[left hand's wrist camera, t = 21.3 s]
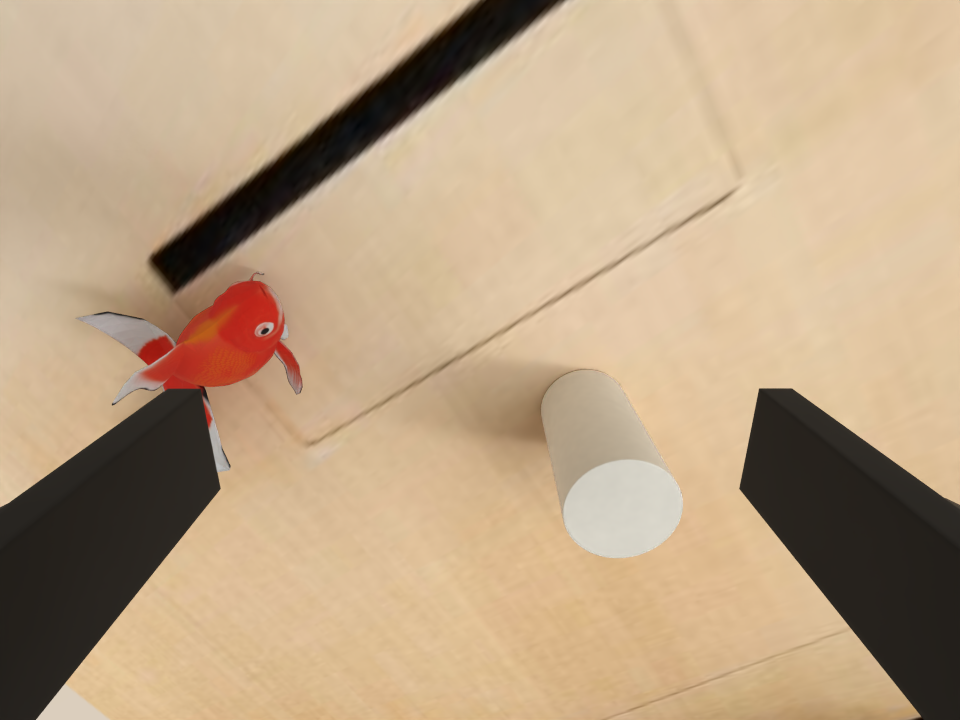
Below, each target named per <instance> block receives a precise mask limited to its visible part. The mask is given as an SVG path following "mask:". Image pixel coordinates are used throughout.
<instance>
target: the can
mask: <svg viewBox="0 0 960 720" xmlns="http://www.w3.org/2000/svg"><path fill="white" fill-rule="evenodd" d="M541 417H542V422H543V427H544V431H545V436H546V441H547V446H548V450H549V455H550V460H551V464H552V469H553V474H554V479H555V483H556V488H557V493H558V497H559V502H560V507H561V512H562V516H563V521H564V525H565V528H566V530H567V532H568V534H569V535H570V536H571V538H572V539H573V540H574V541H575V542H576V543H577V544H578V545H579V546H580V547H582V548H583V549H585V550H587V551H588V552H591V553H593V554H595V555H599V556H603V557H609V558H627V557H633V556H637V555H640V554H643V553H646V552H648V551H650V550H652V549H654V548H656V547H657V546H659V545H660V544H661V543H663V542H664V541H665V540H666V539H667V538H668V537H669V536H670V535H671V534H672V533H673V531H674V530H675V528H676V527H677V525H678V523H679V521H680V518H681V514H682V509H683V499H682V494H681V490H680V488H679V486H678V484H677V482H676V480H675V479H674V477H673V475H672V474H671V472H670V470H669V468H668V467H667V465H666V463H665V461H664V460H663V458H662V456H661V454H660V453H659V451H658V449H657V448H656V446H655V444H654V442H653V441H652V439H651V437H650V435H649V434H648V432H647V430H646V429H645V427H644V425H643V423H642V422H641V420H640V418H639V416H638V415H637V413H636V411H635V409H634V408H633V406H632V404H631V403H630V401H629V399H628V397H627V396H626V394H625V392H624V390H623V389H622V387H621V386H620V384H619V383H618V382H617V381H616V380H615V379H614V378H612V377H611V376H609V375H607V374H605V373H603V372H600V371H596V370H578V371H573V372H570V373H568V374H565V375H563V376H562V377H560V378H559V379H557V380H556V381H555V382H554V383H553V384H552V385H551V386H550V387H549V388H548V390H547V391H546V393H545V395H544V397H543V400H542V404H541Z"/></svg>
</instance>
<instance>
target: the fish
mask: <svg viewBox="0 0 960 720" xmlns="http://www.w3.org/2000/svg"><path fill="white" fill-rule="evenodd" d="M256 274H262V275H263V273H261V272H256V273H254V274H253V275H252V276H251V278H250V279H249V281H238V282H235V283H233V284H232V285H231V286H230V287H229V288H228V289H227V291H226V292H225V293H223V294H222V295H220V296H219V297H218V298H217V299H216V300H215V302H214V305H213V306H211V307H209V308H207V309H205V310H204V311H202V312H201V313H199V314H197V315H196V316H195V317H194V318H193V319H192V320H191V321H190V323H189V324H188V325H187V326H186V328H185V329H184V330H183V332H182V333H181V335H180V337H179V339H178V341H177V343H176V342H175V341H174V340H173V339H172V338H171V337H170V336H169V335H168V334H167V333H165V332H164V331H162V330H161V329H159V328H158V327H157V326H155V325H153V324H151V323H150V322H148V321H146V320H144V319H142V318H137V317H132V316H127V315H122V314H117V313H112V312H103V313H98V314H93V315H89V316H84V317H79V318H75V319H78V320H80V321H83V322H85V323H87V324H89V325H91V326H93V327H95V328H97V329H99V330H101V331H102V332H104V333H106V334H108V335H109V336H111V337H112V338H114V339H116V340H117V341H119V342H120V343H122V344H123V345H124V346H126V347H127V348H129V349H130V350H131V351H132V352H134V353H135V354H136V355H137V356H139V357H140V358H141V359H142V360H143V361H144V362H145V363H146V364H148V365H149V366H147V367H145V368H143V369H141V370H138V371H136V372H135V373H134V374H133V375H132V376H131V377H130V379H129V380H128V381H127V382H126V383H125V384H124V386H123V387H122V389H121V390H120V392H119V394H118V395H117V397H116V398H115V400H114V402H113V403H112V405H115V404H116V403H117V402H119V401H120V400H121V399H122V398H124V397H125V396H126V395H128V394H129V393H131V392H133V391H134V390H137V389H145V390H149V391H154V390H157V389H158V388H159V387H160V386H162V387H163V392H164V391H165V390H167V389H201V392H202V397H203V402H204V408H205V413H206V418H207V423H208V428H209V433H210V438H211V443H212V448H213V453H214V458H215V463H216V468H217V472H221V471H227V470H230V464H229V462H228V460H227V457H226V455H225V453H224V451H223V449H222V445H221V442H220V438H219V434H218V430H217V427H216V424H215V420H214V417H213V413H212V410H211V407H210V403H209V400H208V397H207V393H206V390H205V388H204V386H206V387H215V386H225V385H230V384H233V383H236V382H238V381H241V380H243V379H245V378H248V377H250V376H252V375H254V374H255V373H256V372H257V371H258V370H259V369H260V368H262V367H263V366H264V365H265V364H266V363H267V362H268V361H269V360H270V359H271V357H272V356H273V354H275V355H276V356H277V358H278V359H279V360H280V361H281V362H282V363H283V364H284V366H285V369H286V373H287V378H288V381H289V383H290V385H291V386H292V388H293V389H294V391H295V393H296V394H299V393H300V392H301V390H302V378H301V376H300V369H299V364H298V363H297V361H296V359H295V357H294V356H293V354H292V352H291V351H290V350H289V349H288V348H287V347H286V346H285V345H284V344H283V343H282V342H281V341H280V338H281V339H286V338H288V328H287V325H286V324H284V321H285V319H284V313H283V309H282V306H281V303H280V300H279V298H278V296H277V295H276V293H275V292H274V291H273V290H272V289H271V288H270V287H269V286H267V285H265V284H264V283H262V282H260V281H253V277H254V276H255V275H256Z"/></svg>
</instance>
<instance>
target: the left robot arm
mask: <svg viewBox="0 0 960 720" xmlns="http://www.w3.org/2000/svg"><path fill="white" fill-rule="evenodd" d="M220 489H221V488H220V483H219V478H218V473H217V468H216V463H215V458H214V453H213V448H212V443H211V438H210V433H209V428H208V423H207V418H206V413H205V408H204V402H203V397H202V392H201V389H167V390H165V391H164V392H163V393H161V394H160V395H158V396H157V397H156V398H154V399H153V400H152V401H150V402H149V403H147V404H146V405H145V406H143V407H142V408H140V409H139V410H138V411H136V412H135V413H133V414H132V415H131V416H129V417H128V418H126V419H125V420H124V421H122V422H121V423H120V424H118V425H117V426H115V427H114V428H113V429H111V430H110V431H108V432H107V433H106V434H104V435H103V436H101V437H100V438H99V439H97V440H96V441H94V442H93V443H92V444H90V445H89V446H88V447H86V448H85V449H83V450H82V451H81V452H79V453H78V454H76V455H75V456H74V457H72V458H71V459H69V460H68V461H67V462H65V463H64V464H62V465H61V466H60V467H58V468H57V469H56V470H54V471H53V472H51V473H50V474H49V475H47V476H46V477H44V478H43V479H42V480H40V481H39V482H37V483H36V484H35V485H33V486H32V487H30V488H29V489H28V490H26V491H25V492H24V493H22V494H21V495H19V496H18V497H17V498H15V499H14V500H12V501H11V502H10V503H8V504H6V505H4V506H2V507H0V720H36V719H37V718H38V716H39V715H40V714H41V713H42V711H43V710H44V709H45V708H46V706H47V705H48V704H49V703H50V701H51V700H52V699H53V698H54V696H55V695H56V694H57V693H58V691H59V690H60V689H61V688H62V686H63V685H64V684H65V683H66V681H67V680H68V679H69V678H70V676H71V675H72V674H73V673H74V671H75V670H76V669H77V668H78V666H79V665H80V664H81V663H82V661H83V660H84V659H85V658H86V656H87V655H88V654H89V653H90V651H91V650H92V649H93V648H94V646H95V645H96V644H97V643H98V641H99V640H100V639H101V638H102V636H103V635H104V634H105V633H106V631H107V630H108V629H109V628H110V626H111V625H112V624H113V623H114V621H115V620H116V619H117V618H118V616H119V615H120V614H121V613H122V611H123V610H124V609H125V608H126V606H127V605H128V604H129V603H130V601H131V600H132V599H133V598H134V596H135V595H136V594H137V593H138V591H139V590H140V589H141V588H142V586H143V585H144V584H145V583H146V581H147V580H148V579H149V578H150V576H151V575H152V574H153V573H154V571H155V570H156V569H157V568H158V566H159V565H160V564H161V563H162V561H163V560H164V559H165V558H166V556H167V555H168V554H169V553H170V551H171V550H172V549H173V548H174V546H175V545H176V544H177V543H178V541H179V540H180V539H181V538H182V536H183V535H184V534H185V533H186V531H187V530H188V529H189V528H190V526H191V525H192V524H193V523H194V521H195V520H196V519H197V518H198V516H199V515H200V514H201V513H202V511H203V510H204V509H205V508H206V506H207V505H208V504H209V503H210V501H211V500H212V499H213V498H214V496H215V495H216V494H217V493H218V491H219V490H220ZM739 489H740V490H741V491H742V493H743V494H744V495H745V496H746V498H747V499H748V500H749V501H750V503H751V504H752V505H753V506H754V508H755V509H756V510H757V511H758V513H759V514H760V515H761V516H762V518H763V519H764V520H765V521H766V523H767V524H768V525H769V526H770V528H771V529H772V530H773V531H774V533H775V534H776V535H777V536H778V538H779V539H780V540H781V541H782V543H783V544H784V545H785V546H786V548H787V549H788V550H789V551H790V553H791V554H792V555H793V556H794V558H795V559H796V560H797V561H798V563H799V564H800V565H801V566H802V568H803V569H804V570H805V571H806V573H807V574H808V575H809V576H810V578H811V579H812V580H813V581H814V583H815V584H816V585H817V586H818V588H819V589H820V590H821V591H822V593H823V594H824V595H825V596H826V598H827V599H828V600H829V601H830V603H831V604H832V605H833V606H834V608H835V609H836V610H837V611H838V613H839V614H840V615H841V616H842V618H843V619H844V620H845V621H846V623H847V624H848V625H849V626H850V628H851V629H852V630H853V631H854V633H855V634H856V635H857V636H858V638H859V639H860V640H861V641H862V643H863V644H864V645H865V646H866V648H867V649H868V650H869V651H870V653H871V654H872V655H873V656H874V658H875V659H876V660H877V661H878V663H879V664H880V665H881V666H882V668H883V669H884V670H885V671H886V673H887V674H888V675H889V676H890V678H891V679H892V680H893V681H894V683H895V684H896V685H897V686H898V688H899V689H900V690H901V691H902V693H903V694H904V695H905V696H906V698H907V699H908V700H909V701H910V703H911V704H912V705H913V706H914V708H915V709H916V710H917V711H918V713H919V714H920V715H921V716H922V718H923V719H924V720H960V505H959V504H957V503H955V502H953V501H950V500H948V499H946V498H943V497H942V496H941V495H939V494H938V493H936V492H935V491H934V490H932V489H931V488H930V487H928V486H927V485H925V484H924V483H923V482H921V481H920V480H918V479H917V478H916V477H914V476H913V475H911V474H910V473H909V472H907V471H906V470H904V469H903V468H902V467H900V466H899V465H898V464H896V463H895V462H893V461H892V460H891V459H889V458H888V457H886V456H885V455H884V454H882V453H881V452H879V451H878V450H877V449H875V448H874V447H872V446H871V445H870V444H868V443H867V442H866V441H864V440H863V439H861V438H860V437H859V436H857V435H856V434H854V433H853V432H852V431H850V430H849V429H847V428H846V427H845V426H843V425H842V424H840V423H839V422H838V421H836V420H835V419H834V418H832V417H831V416H829V415H828V414H827V413H825V412H824V411H822V410H821V409H820V408H818V407H817V406H815V405H814V404H813V403H811V402H810V401H808V400H807V399H806V398H804V397H803V396H802V395H800V394H799V393H797V392H796V391H795V390H793V389H759V392H758V397H757V402H756V408H755V413H754V418H753V423H752V428H751V433H750V438H749V443H748V448H747V453H746V458H745V463H744V468H743V473H742V478H741V483H740V488H739Z"/></svg>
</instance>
